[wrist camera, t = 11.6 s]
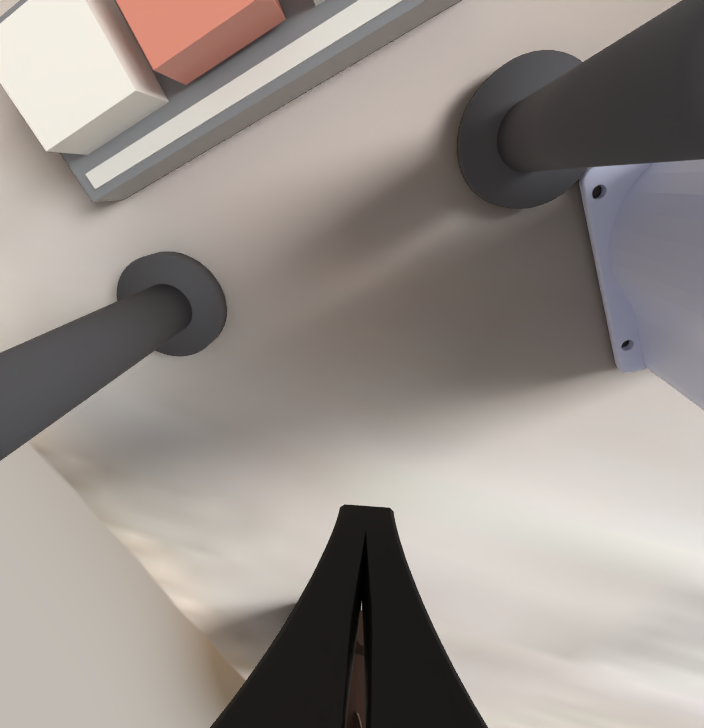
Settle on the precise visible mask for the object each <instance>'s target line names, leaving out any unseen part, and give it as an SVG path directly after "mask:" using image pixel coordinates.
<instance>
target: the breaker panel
mask: <svg viewBox="0 0 704 728" xmlns="http://www.w3.org/2000/svg"><path fill="white" fill-rule="evenodd" d="M278 1H279V3H280V6H281V8H282V11H283V13H284V16H285V18H286V20H284V21H283V22H281V23H280V24H278V25H277V26H275V27H274V28H272V29H271V30H269V31H268V32H266V33H265V34H263V35H261V36H260V37H258V38H257V39H255V40H254V41H252V42H251V43H249V44H248V45H246V46H245V47H243V48H242V49H240V50H239V51H237V52H236V53H234V54H233V55H231V56H229V57H228V58H226V59H225V60H223V61H222V62H220V63H219V64H217V65H216V66H214V67H213V68H211V69H210V70H208V71H207V72H205V73H204V74H202V75H201V76H199V77H197V78H196V79H194V80H193V81H191V82H190V83H188V84H187V85H185V84H182V83H180V82H178V81H176V80H174V79H172V78H169V77H167V76H165V75H163V74H161V73H158V72H156V71H154V70H153V68H152V66H151V65H150V63H149V61H148V59H147V57H146V55H145V53H144V52H143V50H142V48H141V46H140V44H139V42H138V40H137V38H136V37H135V35H134V33H133V31H132V29H131V27H130V25H129V24H128V22H127V20H126V18H125V16H124V14H123V12H122V11H121V9H120V7H119V5H118V3H117V1H116V0H20V1H19V2H18V3H16V4H15V5H14V6H13V7H12V8H10V9H9V10H8V11H7V12H6V13H5V14H3V15H2V16H1V17H0V83H1V85H2V86H3V88H4V89H5V91H6V92H7V94H8V95H9V97H10V98H11V100H12V101H13V103H14V104H15V106H16V107H17V109H18V110H19V112H20V113H21V115H22V116H23V118H24V119H25V121H26V122H27V124H28V125H29V127H30V128H31V130H32V131H33V133H34V134H35V135H36V137H37V138H38V140H39V141H40V143H41V144H42V146H43V147H44V149H45V150H46V151H47V152H59V153H60V154H61V155H62V157H63V158H64V160H65V161H66V163H67V164H68V166H69V167H70V169H71V170H72V172H73V173H74V175H75V176H76V178H77V179H78V181H79V182H80V184H81V185H82V187H83V188H84V190H85V192H86V193H87V195H88V196H89V198H90V199H91V201H92V202H102V201H115V200H124V199H126V198H127V197H129V196H131V195H133V194H134V193H136V192H138V191H139V190H141V189H143V188H144V187H146V186H148V185H149V184H151V183H153V182H155V181H156V180H158V179H160V178H161V177H163V176H165V175H166V174H168V173H170V172H171V171H173V170H175V169H177V168H178V167H180V166H182V165H183V164H185V163H187V162H188V161H190V160H192V159H193V158H195V157H197V156H199V155H200V154H202V153H204V152H205V151H207V150H209V149H210V148H212V147H214V146H215V145H217V144H219V143H221V142H222V141H224V140H226V139H227V138H229V137H231V136H232V135H234V134H236V133H237V132H239V131H241V130H242V129H244V128H246V127H248V126H249V125H251V124H253V123H254V122H256V121H258V120H259V119H261V118H263V117H264V116H266V115H268V114H270V113H271V112H273V111H275V110H276V109H278V108H280V107H281V106H283V105H285V104H286V103H288V102H290V101H292V100H293V99H295V98H297V97H298V96H300V95H302V94H303V93H305V92H307V91H308V90H310V89H312V88H314V87H315V86H317V85H319V84H320V83H322V82H324V81H325V80H327V79H329V78H330V77H332V76H334V75H336V74H337V73H339V72H341V71H342V70H344V69H346V68H347V67H349V66H351V65H352V64H354V63H356V62H358V61H359V60H361V59H363V58H364V57H366V56H368V55H369V54H371V53H373V52H374V51H376V50H378V49H380V48H381V47H383V46H385V45H386V44H388V43H390V42H391V41H393V40H395V39H396V38H398V37H400V36H401V35H403V34H405V33H407V32H408V31H410V30H412V29H413V28H415V27H417V26H418V25H420V24H422V23H423V22H425V21H427V20H429V19H430V18H432V17H434V16H435V15H437V14H439V13H440V12H442V11H444V10H445V9H447V8H449V7H451V6H452V5H454V4H456V3H457V2H459V1H461V0H278Z"/></svg>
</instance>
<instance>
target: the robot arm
mask: <svg viewBox="0 0 704 728" xmlns="http://www.w3.org/2000/svg"><path fill="white" fill-rule="evenodd" d="M597 185H600V186H601V188H602V191H601V194H600V196H599V197H597V198H595V199H594V198H593V196H592V191H593V189H594V188H595V187H596V186H597ZM579 186H580V191H581V196H582V201H583V206H584V211H585V216H586V221H587V225H588V230H589V235H590V240H591V245H592V250H593V255H594V260H595V265H596V270H597V275H598V280H599V285H600V290H601V295H602V300H603V305H604V310H605V314H606V319H607V324H608V329H609V334H610V339H611V344H612V349H613V354H614V359H615V364H616V366H617V368H618V369H620V370H621V371H622V372H625V373H631V372H635V371H638V370H642V369H645V368H647V369H649V370H650V371H651V372H653V373H654V374H655V375H657V376H658V377H659V378H661V379H662V380H663V381H665V382H666V383H668V384H669V385H670V386H672V387H673V388H674V389H676V390H677V391H678V392H680V393H681V394H682V395H684V396H685V397H686V398H688V399H689V400H691V401H692V402H693V403H695V404H696V405H697V406H699V407H700V408H701V409H703V410H704V159H702V160H687V161H673V162H659V163H645V164H630V165H616V166H602V167H588V168H587V170H586V171H585V172H584V174H583V175H582V176H581V177H580V179H579ZM627 340H629V343H628V345H627V346H625V347H621V346H622V344H623V342H625V341H627ZM361 603H362V620H363V652H364V682H365V728H488V727H487V725H486V723H485V722H484V720H483V718H482V717H481V715H480V713H479V712H478V710H477V708H476V707H475V705H474V703H473V702H472V700H471V698H470V696H469V694H468V693H467V691H466V689H465V687H464V685H463V683H462V682H461V680H460V678H459V676H458V674H457V672H456V671H455V669H454V667H453V665H452V663H451V661H450V659H449V657H448V655H447V653H446V651H445V649H444V647H443V645H442V643H441V641H440V639H439V637H438V635H437V633H436V631H435V629H434V626H433V624H432V622H431V620H430V618H429V615H428V613H427V611H426V609H425V606H424V604H423V602H422V599H421V597H420V594H419V592H418V590H417V587H416V584H415V582H414V579H413V577H412V574H411V571H410V569H409V566H408V563H407V561H406V558H405V555H404V552H403V548H402V545H401V542H400V539H399V535H398V531H397V528H396V523H395V518H394V512H393V511H392V510H391V509H390V508H385V507H371V506H358V505H343V506H342V507H340V510H339V514H338V518H337V521H336V524H335V526H334V529H333V532H332V534H331V537H330V539H329V541H328V544H327V546H326V548H325V550H324V552H323V554H322V557H321V559H320V561H319V563H318V565H317V567H316V569H315V571H314V573H313V575H312V577H311V579H310V581H309V582H308V584H307V586H306V588H305V590H304V591H303V593H302V595H301V597H300V598H299V600H298V602H297V604H296V606H295V607H294V609H293V611H292V612H291V614H290V616H289V617H288V619H287V621H286V622H285V624H284V626H283V627H282V629H281V630H280V632H279V633H278V635H277V636H276V638H275V640H274V641H273V643H272V644H271V646H270V647H269V649H268V650H267V652H266V653H265V655H264V656H263V657H262V659H261V660H260V662H259V663H258V665H257V666H256V667H255V669H254V670H253V672H252V673H251V674H250V676H249V677H248V679H247V680H246V682H245V683H244V684H243V686H242V687H241V688H240V690H239V691H238V692H237V694H236V695H235V696H234V698H233V699H232V700H231V702H230V703H229V704H228V706H227V707H226V708H225V709H224V711H223V712H222V713H221V714H220V716H219V717H218V718H217V719H216V721H215V722H214V723H213V724H212V726H211V727H210V728H346V719H347V709H348V700H349V692H350V685H351V677H352V670H353V662H354V655H355V648H356V640H357V633H358V625H359V618H360V610H361Z"/></svg>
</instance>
